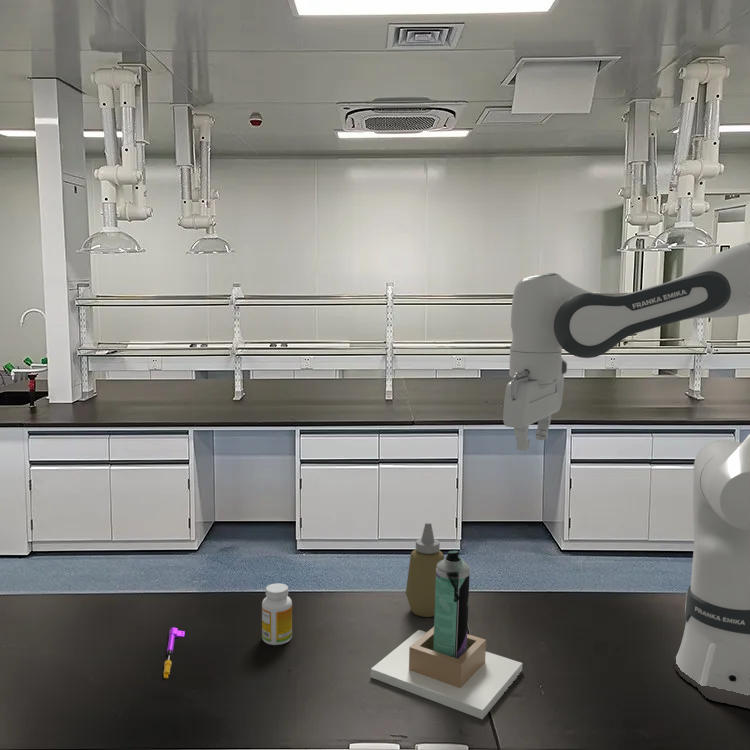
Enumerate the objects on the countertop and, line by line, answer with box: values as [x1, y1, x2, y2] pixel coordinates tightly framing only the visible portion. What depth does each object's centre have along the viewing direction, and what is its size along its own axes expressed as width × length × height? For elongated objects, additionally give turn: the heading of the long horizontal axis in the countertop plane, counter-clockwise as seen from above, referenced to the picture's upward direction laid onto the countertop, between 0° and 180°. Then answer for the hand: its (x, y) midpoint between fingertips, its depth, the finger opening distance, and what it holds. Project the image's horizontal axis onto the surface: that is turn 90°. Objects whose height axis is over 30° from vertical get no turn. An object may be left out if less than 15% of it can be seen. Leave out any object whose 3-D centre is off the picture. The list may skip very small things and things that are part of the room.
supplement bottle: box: [261, 582, 293, 646], centre depth 129 cm, size 5×5×10 cm
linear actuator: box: [163, 627, 185, 679], centre depth 124 cm, size 3×1×16 cm
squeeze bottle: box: [405, 522, 445, 618], centre depth 140 cm, size 8×8×18 cm
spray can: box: [433, 549, 471, 659], centre depth 117 cm, size 6×6×20 cm
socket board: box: [370, 626, 523, 720], centre depth 119 cm, size 20×16×6 cm
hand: (532, 444), depth 127 cm, fingers open, 8 cm apart
